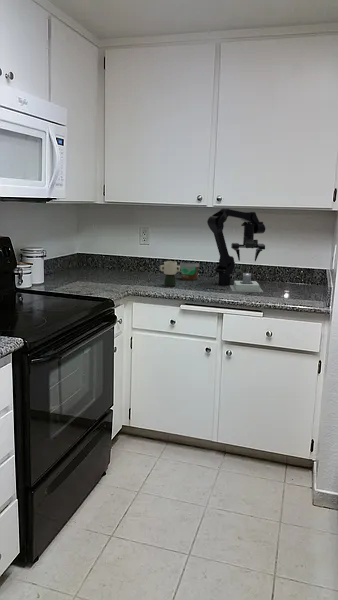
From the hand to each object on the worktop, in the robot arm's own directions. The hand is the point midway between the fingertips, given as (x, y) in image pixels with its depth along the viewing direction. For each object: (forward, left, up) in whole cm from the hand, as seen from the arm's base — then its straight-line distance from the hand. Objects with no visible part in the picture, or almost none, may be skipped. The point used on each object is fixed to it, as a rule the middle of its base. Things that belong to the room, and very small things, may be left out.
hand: (247, 261), depth 283 cm
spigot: (-3, -23, -11) cm, 26 cm away
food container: (-34, +2, -12) cm, 36 cm away
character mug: (-44, -18, -12) cm, 49 cm away
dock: (-3, -23, -12) cm, 26 cm away
